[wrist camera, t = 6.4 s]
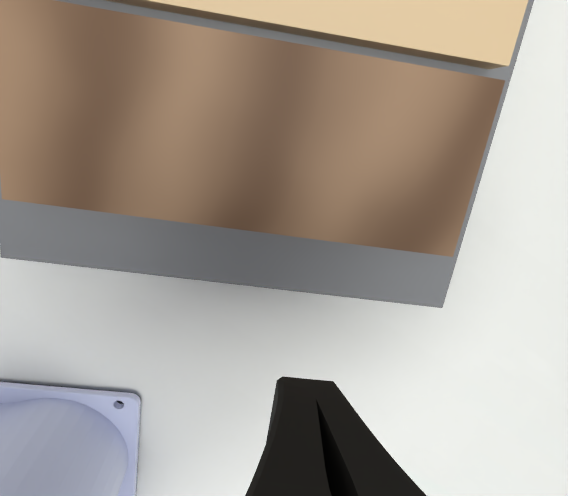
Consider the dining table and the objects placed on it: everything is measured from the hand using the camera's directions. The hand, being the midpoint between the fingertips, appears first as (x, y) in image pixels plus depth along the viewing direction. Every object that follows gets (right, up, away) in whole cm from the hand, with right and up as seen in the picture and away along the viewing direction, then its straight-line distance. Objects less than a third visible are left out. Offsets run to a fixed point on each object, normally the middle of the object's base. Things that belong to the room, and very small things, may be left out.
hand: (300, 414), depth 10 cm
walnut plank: (-2, +8, +7) cm, 11 cm away
